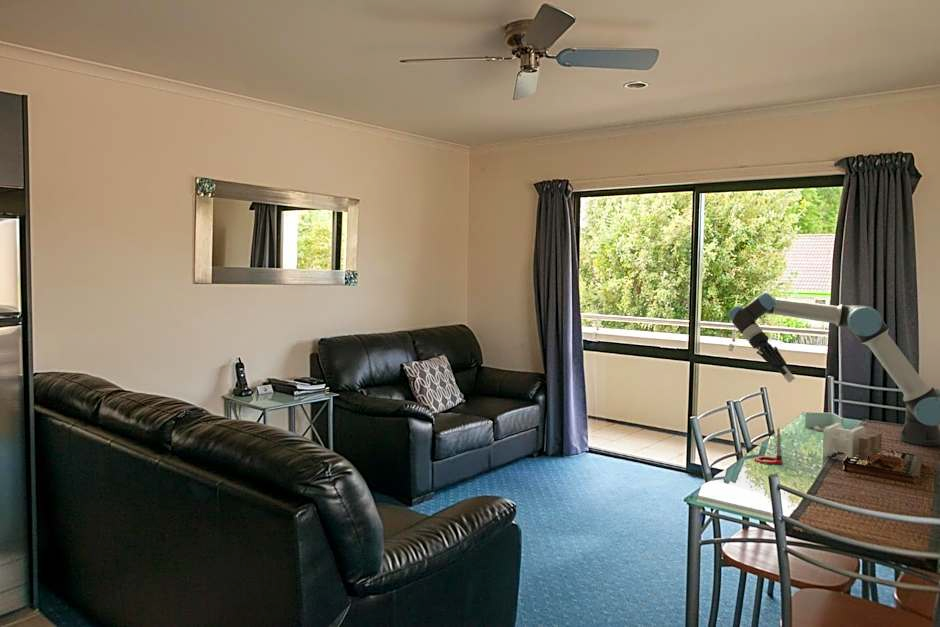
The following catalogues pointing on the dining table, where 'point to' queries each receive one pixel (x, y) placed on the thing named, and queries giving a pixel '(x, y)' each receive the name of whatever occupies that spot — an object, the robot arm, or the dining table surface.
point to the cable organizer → (842, 440)
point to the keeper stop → (869, 445)
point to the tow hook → (778, 457)
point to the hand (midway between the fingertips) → (791, 380)
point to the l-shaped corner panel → (821, 420)
